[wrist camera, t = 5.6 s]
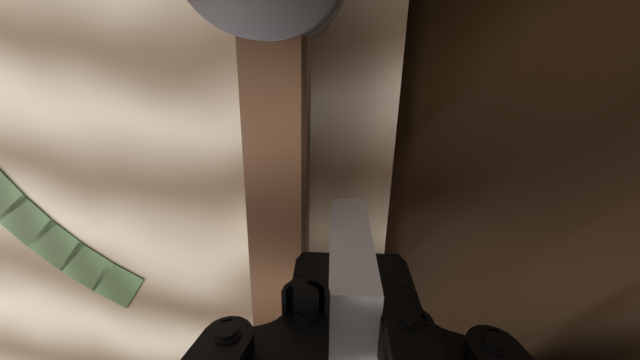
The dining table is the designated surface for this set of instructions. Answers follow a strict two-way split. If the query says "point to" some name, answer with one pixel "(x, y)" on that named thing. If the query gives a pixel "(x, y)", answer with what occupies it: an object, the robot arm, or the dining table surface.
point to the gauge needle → (273, 130)
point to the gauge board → (161, 168)
